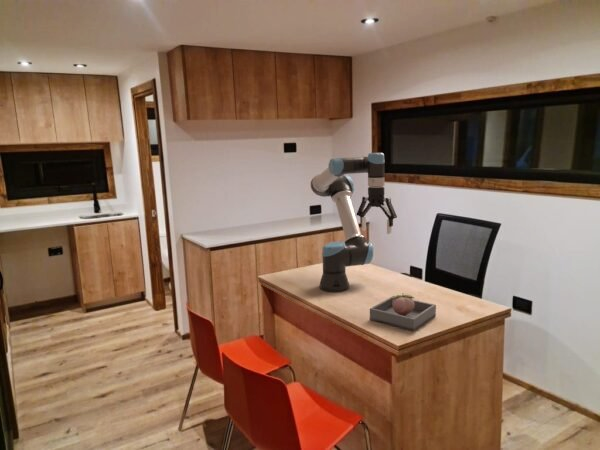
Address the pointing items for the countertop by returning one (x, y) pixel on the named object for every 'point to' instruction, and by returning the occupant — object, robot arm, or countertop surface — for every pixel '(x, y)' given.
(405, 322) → the bin
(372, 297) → the countertop surface
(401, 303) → the decorative fruit
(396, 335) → the countertop surface
